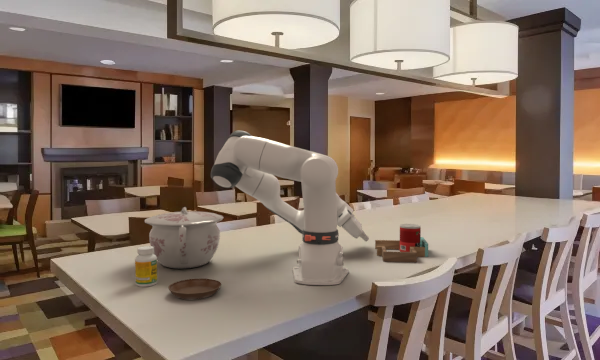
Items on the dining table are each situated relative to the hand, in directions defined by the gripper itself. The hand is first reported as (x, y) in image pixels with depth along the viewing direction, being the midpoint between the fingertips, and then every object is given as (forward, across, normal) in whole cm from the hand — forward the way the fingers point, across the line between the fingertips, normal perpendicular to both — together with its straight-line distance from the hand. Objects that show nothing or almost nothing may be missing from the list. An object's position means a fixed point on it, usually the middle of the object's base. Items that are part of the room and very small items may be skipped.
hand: (367, 239), depth 178 cm
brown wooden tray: (+12, 0, +5) cm, 13 cm away
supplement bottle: (-45, +50, -52) cm, 85 cm away
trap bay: (+11, +11, +4) cm, 17 cm away
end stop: (+19, 0, +12) cm, 22 cm away
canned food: (+15, +1, +8) cm, 17 cm away
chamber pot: (-43, +26, -50) cm, 71 cm away
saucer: (-32, +57, -39) cm, 77 cm away
